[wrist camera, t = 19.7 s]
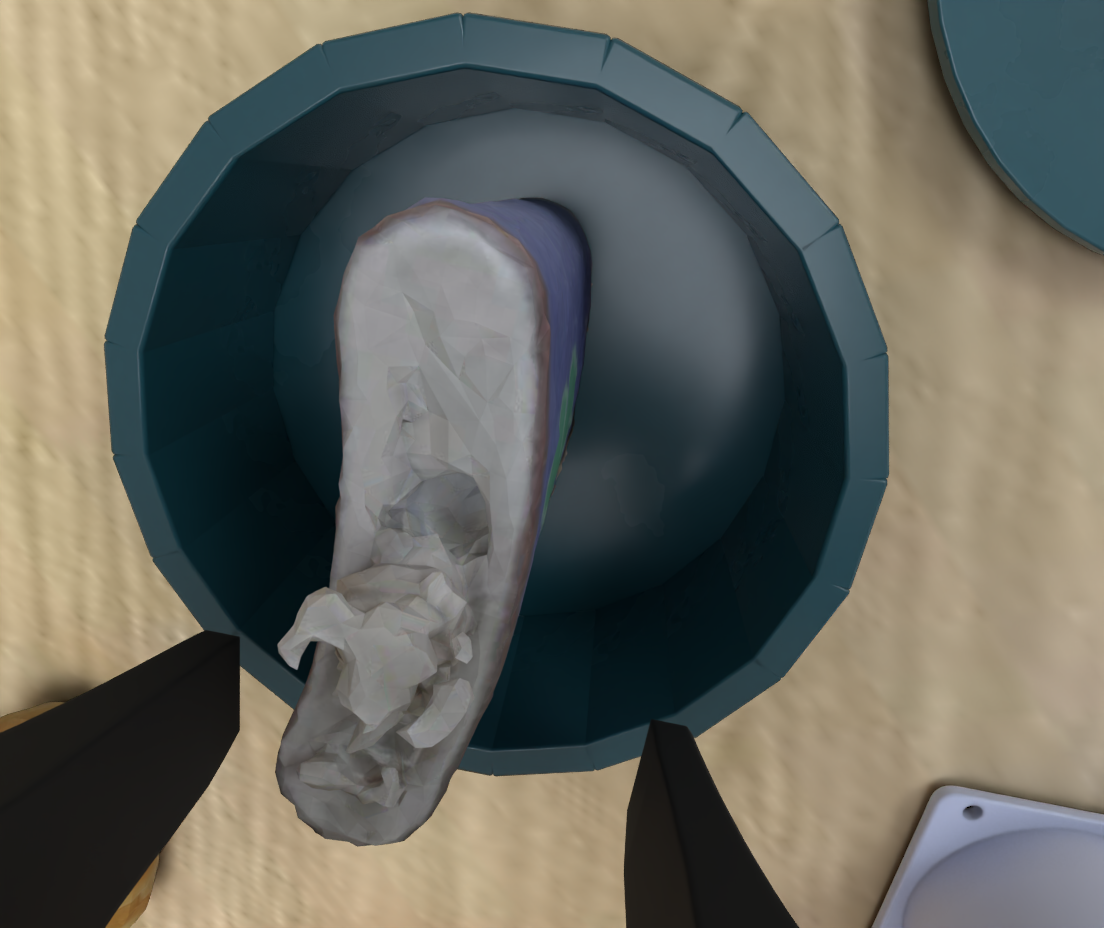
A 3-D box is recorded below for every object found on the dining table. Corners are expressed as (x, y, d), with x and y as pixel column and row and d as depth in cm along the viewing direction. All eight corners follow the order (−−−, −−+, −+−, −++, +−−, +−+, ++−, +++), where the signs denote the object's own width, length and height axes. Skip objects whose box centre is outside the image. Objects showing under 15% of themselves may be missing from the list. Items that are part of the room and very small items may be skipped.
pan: (887, 132, 15) (1024, 98, 10) (730, 665, 20) (766, 831, 14) (258, 31, 15) (72, -52, 10) (255, 575, 20) (128, 705, 15)
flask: (493, 185, 15) (251, 170, 5) (626, 218, 15) (627, 264, 5) (424, 554, 19) (196, 962, 9) (533, 582, 19) (427, 1023, 9)
